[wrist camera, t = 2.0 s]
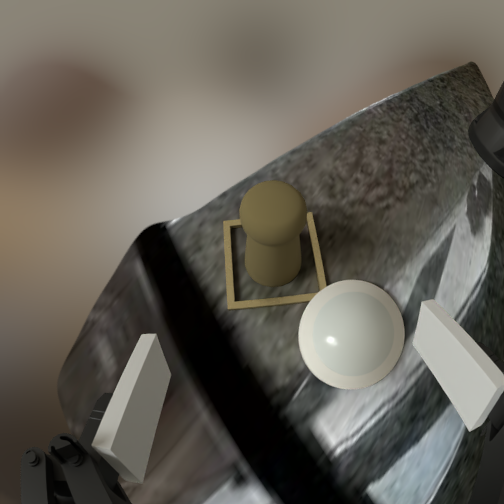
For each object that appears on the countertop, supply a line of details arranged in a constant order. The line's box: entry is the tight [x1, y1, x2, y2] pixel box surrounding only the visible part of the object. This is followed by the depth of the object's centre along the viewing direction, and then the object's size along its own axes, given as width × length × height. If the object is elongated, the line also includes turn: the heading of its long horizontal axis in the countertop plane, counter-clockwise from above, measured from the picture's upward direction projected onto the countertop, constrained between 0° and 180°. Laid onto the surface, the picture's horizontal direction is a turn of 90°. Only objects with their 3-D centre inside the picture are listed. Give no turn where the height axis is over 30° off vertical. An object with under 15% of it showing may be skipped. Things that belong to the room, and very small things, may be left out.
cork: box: [239, 180, 308, 287], centre depth 25 cm, size 6×6×11 cm
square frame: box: [223, 212, 327, 310], centre depth 30 cm, size 10×10×1 cm
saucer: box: [298, 280, 405, 389], centre depth 26 cm, size 11×11×1 cm
